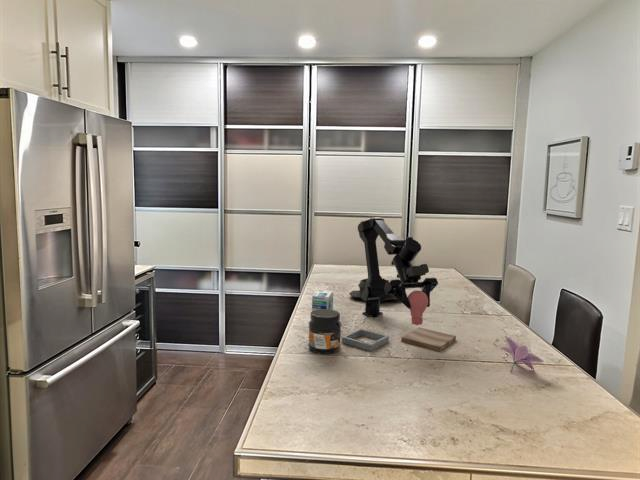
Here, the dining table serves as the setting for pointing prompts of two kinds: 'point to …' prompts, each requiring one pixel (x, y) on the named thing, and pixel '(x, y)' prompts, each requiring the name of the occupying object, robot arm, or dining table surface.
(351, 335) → the holder frame
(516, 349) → the lily
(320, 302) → the light bulb box
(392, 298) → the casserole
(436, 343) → the walnut board
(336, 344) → the supplement container
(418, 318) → the light bulb
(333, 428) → the dining table surface
